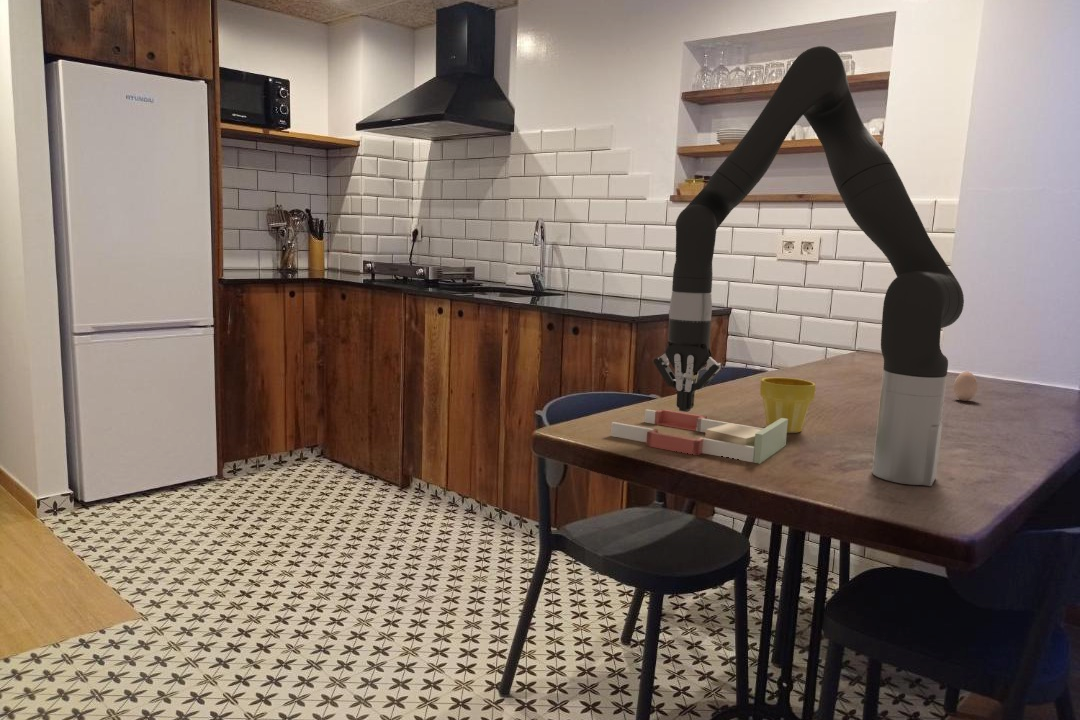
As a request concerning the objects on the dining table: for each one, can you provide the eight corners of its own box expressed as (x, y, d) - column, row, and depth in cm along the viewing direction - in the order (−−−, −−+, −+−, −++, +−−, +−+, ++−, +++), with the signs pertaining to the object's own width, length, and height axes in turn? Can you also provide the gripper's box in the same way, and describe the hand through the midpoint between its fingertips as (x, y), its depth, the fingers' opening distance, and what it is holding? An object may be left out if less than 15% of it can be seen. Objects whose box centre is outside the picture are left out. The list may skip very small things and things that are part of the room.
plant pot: (765, 420, 169) (769, 374, 168) (816, 428, 164) (820, 381, 163) (750, 429, 160) (754, 381, 159) (803, 438, 155) (808, 388, 154)
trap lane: (788, 443, 151) (791, 416, 150) (755, 466, 134) (758, 437, 133) (650, 419, 165) (652, 395, 165) (605, 438, 149) (606, 411, 148)
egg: (962, 403, 199) (966, 373, 198) (946, 398, 204) (950, 369, 203) (980, 402, 200) (984, 373, 199) (964, 398, 205) (968, 369, 204)
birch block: (767, 453, 144) (769, 431, 143) (744, 461, 138) (746, 438, 138) (728, 444, 149) (730, 423, 149) (704, 451, 144) (705, 429, 143)
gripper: (732, 318, 147) (726, 412, 150) (664, 313, 154) (659, 403, 156) (718, 321, 141) (712, 419, 143) (648, 315, 147) (643, 409, 150)
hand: (684, 410), depth 150 cm, fingers closed
